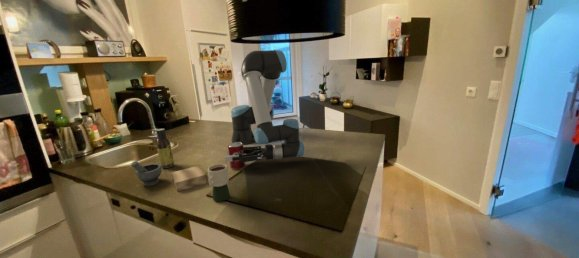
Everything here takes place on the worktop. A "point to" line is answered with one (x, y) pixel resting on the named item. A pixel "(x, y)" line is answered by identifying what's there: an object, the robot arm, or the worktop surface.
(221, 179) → the character mug
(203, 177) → the oak block
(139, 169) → the mortar and pestle
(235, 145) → the soda can
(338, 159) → the worktop surface
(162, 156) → the sauce bottle
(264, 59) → the robot arm
